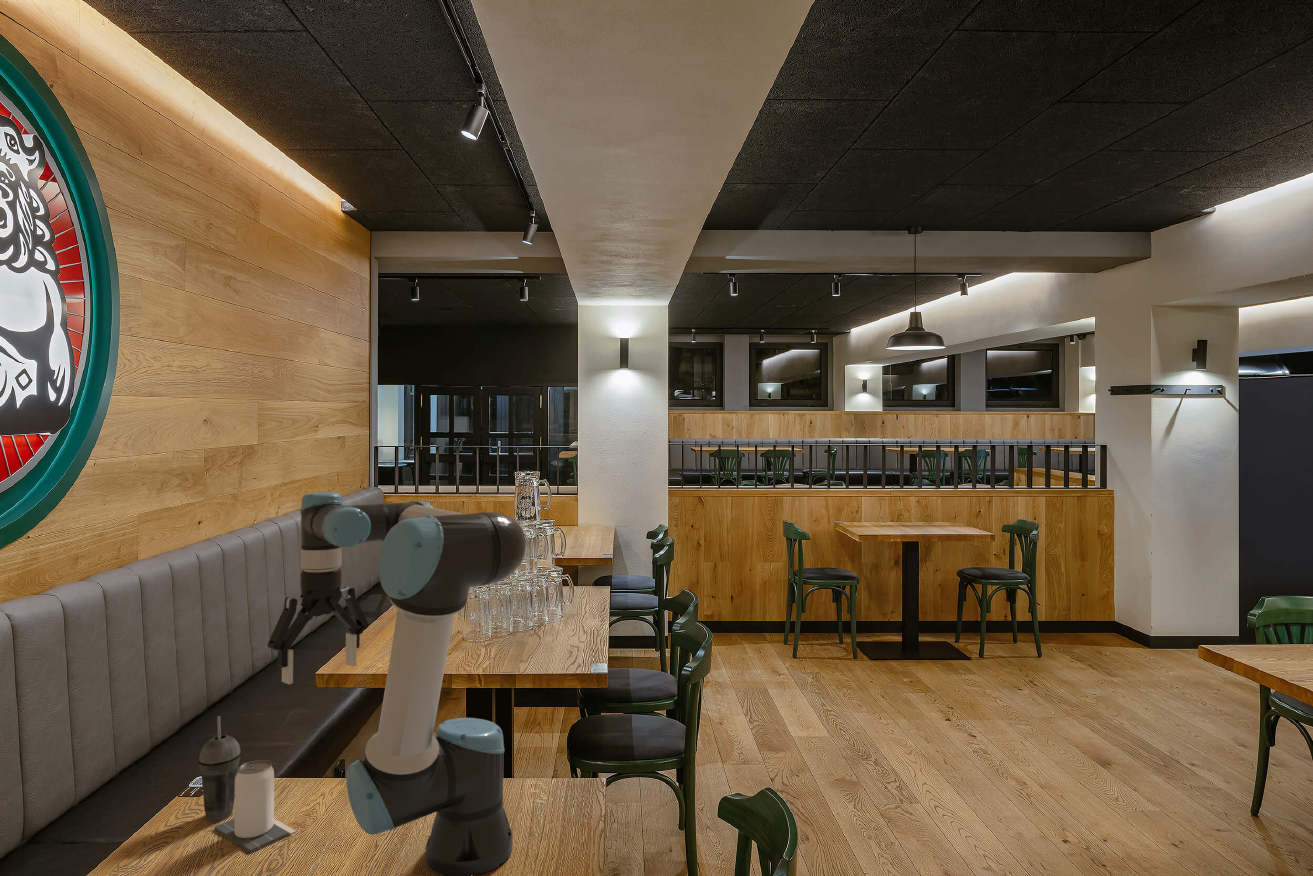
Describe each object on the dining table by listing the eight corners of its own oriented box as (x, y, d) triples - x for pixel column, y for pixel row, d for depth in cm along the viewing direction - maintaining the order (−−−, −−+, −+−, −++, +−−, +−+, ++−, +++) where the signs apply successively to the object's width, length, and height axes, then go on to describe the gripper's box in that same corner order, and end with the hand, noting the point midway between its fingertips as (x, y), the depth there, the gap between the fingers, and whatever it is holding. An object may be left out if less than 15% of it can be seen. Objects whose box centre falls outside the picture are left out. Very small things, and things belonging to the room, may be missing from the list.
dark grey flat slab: (295, 832, 135) (295, 829, 135) (250, 853, 129) (250, 850, 129) (259, 811, 143) (259, 808, 143) (214, 830, 136) (214, 826, 136)
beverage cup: (244, 804, 146) (245, 705, 146) (235, 822, 139) (236, 718, 139) (203, 809, 144) (204, 709, 144) (192, 828, 137) (193, 723, 137)
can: (256, 842, 131) (256, 776, 131) (225, 837, 132) (226, 772, 133) (281, 823, 138) (282, 760, 138) (252, 819, 139) (252, 757, 139)
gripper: (365, 558, 158) (364, 655, 158) (248, 576, 138) (247, 686, 137) (386, 562, 154) (385, 661, 154) (269, 580, 133) (268, 695, 133)
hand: (320, 673), depth 146 cm, fingers open, 13 cm apart
